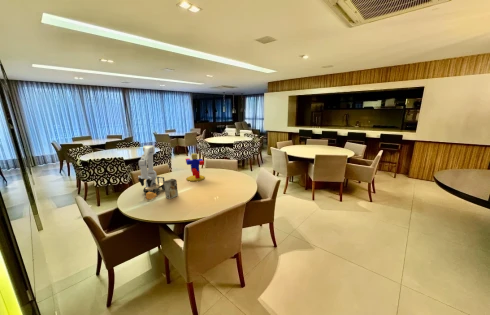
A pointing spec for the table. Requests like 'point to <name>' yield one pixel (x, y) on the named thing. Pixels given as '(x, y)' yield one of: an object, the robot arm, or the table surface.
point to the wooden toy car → (155, 187)
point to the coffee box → (171, 188)
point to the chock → (150, 195)
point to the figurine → (195, 168)
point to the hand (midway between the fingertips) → (146, 186)
